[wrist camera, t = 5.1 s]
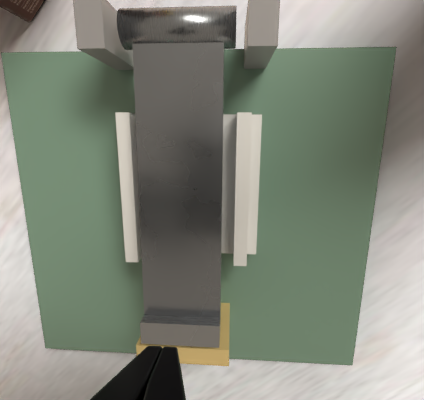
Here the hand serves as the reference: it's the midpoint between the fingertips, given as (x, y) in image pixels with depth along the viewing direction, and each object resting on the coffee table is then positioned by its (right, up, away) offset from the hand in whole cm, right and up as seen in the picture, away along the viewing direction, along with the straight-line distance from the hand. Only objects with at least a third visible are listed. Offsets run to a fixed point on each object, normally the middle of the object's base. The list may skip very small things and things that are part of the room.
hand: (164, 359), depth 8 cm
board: (0, +3, +11) cm, 12 cm away
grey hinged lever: (0, +5, +7) cm, 9 cm away
